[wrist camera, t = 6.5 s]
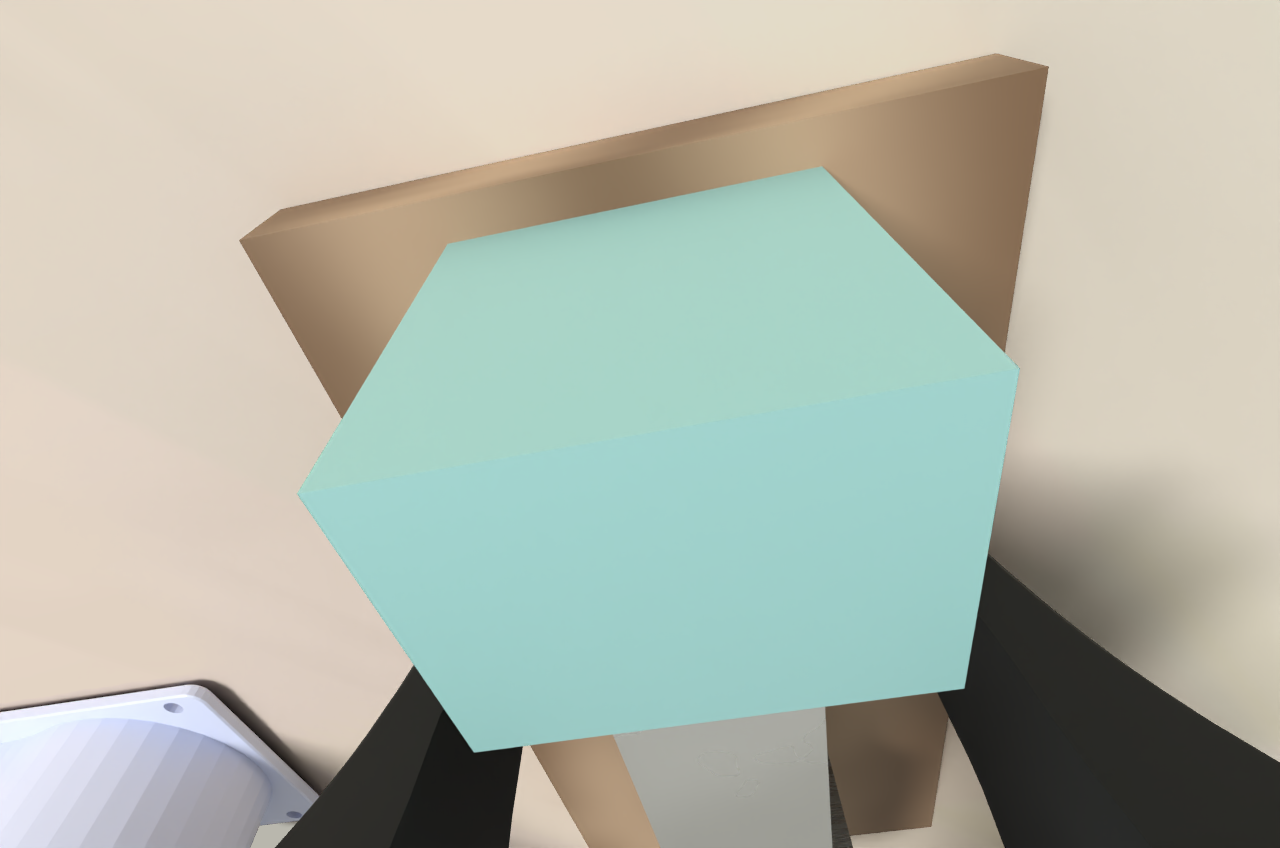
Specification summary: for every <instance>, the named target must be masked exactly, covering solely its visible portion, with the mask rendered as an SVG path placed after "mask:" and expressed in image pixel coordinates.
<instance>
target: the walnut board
mask: <svg viewBox="0 0 1280 848" xmlns="http://www.w3.org/2000/svg"><path fill="white" fill-rule="evenodd" d="M1048 68H1049V67H1048V66H1044V65H1040V64H1036V63H1032V62H1028V61H1024V60H1020V59H1016V58H1012V57H1008V56H1004V55H1000V54H993V55H988V56H983V57H979V58H974V59H970V60H965V61H960V62H956V63H951V64H947V65H942V66H938V67H933V68H928V69H924V70H919V71H915V72H910V73H905V74H901V75H896V76H892V77H887V78H882V79H878V80H873V81H869V82H864V83H859V84H855V85H850V86H846V87H841V88H837V89H832V90H827V91H823V92H818V93H814V94H809V95H804V96H800V97H795V98H791V99H786V100H781V101H777V102H772V103H768V104H763V105H759V106H754V107H749V108H745V109H740V110H736V111H731V112H726V113H722V114H717V115H713V116H708V117H703V118H699V119H694V120H690V121H685V122H680V123H676V124H671V125H667V126H662V127H658V128H653V129H648V130H644V131H639V132H635V133H630V134H625V135H621V136H616V137H612V138H607V139H602V140H598V141H593V142H589V143H584V144H579V145H575V146H570V147H566V148H561V149H557V150H552V151H547V152H543V153H538V154H534V155H529V156H524V157H520V158H515V159H511V160H506V161H501V162H497V163H492V164H488V165H483V166H479V167H474V168H469V169H465V170H460V171H456V172H451V173H446V174H442V175H437V176H433V177H428V178H423V179H419V180H414V181H410V182H405V183H400V184H396V185H391V186H387V187H382V188H378V189H373V190H368V191H364V192H359V193H355V194H350V195H345V196H341V197H336V198H332V199H327V200H322V201H318V202H313V203H309V204H304V205H300V206H295V207H290V208H286V209H281V210H279V211H278V212H277V213H275V214H274V215H273V216H271V217H270V218H269V219H267V220H266V221H265V222H263V223H262V224H261V225H259V226H258V227H256V228H255V229H254V230H252V231H251V232H250V233H248V234H247V235H246V236H244V237H243V238H242V239H240V240H239V241H240V243H241V244H242V246H243V248H244V250H245V251H246V253H247V255H248V256H249V258H250V260H251V262H252V263H253V265H254V267H255V269H256V270H257V272H258V274H259V276H260V277H261V279H262V281H263V283H264V284H265V286H266V288H267V289H268V291H269V293H270V295H271V296H272V298H273V300H274V302H275V303H276V305H277V307H278V309H279V310H280V312H281V314H282V316H283V317H284V319H285V321H286V322H287V324H288V326H289V328H290V329H291V331H292V333H293V335H294V336H295V338H296V340H297V342H298V343H299V345H300V347H301V348H302V350H303V352H304V354H305V355H306V357H307V359H308V361H309V362H310V364H311V366H312V368H313V369H314V371H315V373H316V375H317V376H318V378H319V380H320V381H321V383H322V385H323V387H324V388H325V390H326V392H327V394H328V395H329V397H330V399H331V401H332V402H333V404H334V406H335V408H336V409H337V411H338V413H339V414H340V416H341V418H343V417H344V415H345V413H346V412H347V410H348V409H349V407H350V405H351V404H352V402H353V400H354V399H355V397H356V395H357V394H358V392H359V390H360V389H361V387H362V385H363V384H364V382H365V380H366V379H367V377H368V375H369V374H370V372H371V370H372V369H373V367H374V365H375V364H376V362H377V360H378V359H379V357H380V355H381V354H382V352H383V350H384V349H385V347H386V345H387V344H388V342H389V340H390V339H391V337H392V335H393V334H394V332H395V330H396V329H397V327H398V325H399V324H400V322H401V320H402V319H403V317H404V315H405V314H406V312H407V311H408V309H409V307H410V306H411V304H412V302H413V301H414V299H415V297H416V296H417V294H418V292H419V291H420V289H421V287H422V286H423V284H424V282H425V281H426V279H427V277H428V276H429V274H430V272H431V271H432V269H433V267H434V266H435V264H436V262H437V261H438V259H439V257H440V256H441V254H442V252H443V251H444V249H445V247H446V246H447V244H450V243H454V242H459V241H464V240H469V239H474V238H478V237H483V236H488V235H493V234H498V233H503V232H507V231H512V230H517V229H522V228H527V227H532V226H536V225H541V224H546V223H551V222H556V221H560V220H565V219H570V218H575V217H580V216H585V215H589V214H594V213H599V212H604V211H609V210H614V209H618V208H623V207H628V206H633V205H638V204H643V203H647V202H652V201H657V200H662V199H667V198H671V197H676V196H681V195H686V194H691V193H696V192H700V191H705V190H710V189H715V188H720V187H725V186H729V185H734V184H739V183H744V182H749V181H753V180H758V179H763V178H768V177H773V176H778V175H782V174H787V173H792V172H797V171H802V170H807V169H811V168H816V167H821V166H822V167H823V168H824V169H825V170H826V171H827V172H828V173H829V174H830V175H831V176H832V177H833V178H834V179H835V180H836V181H837V182H838V183H839V184H840V185H841V186H842V187H843V188H844V189H845V190H846V191H847V192H848V193H849V194H850V195H851V196H852V197H853V198H854V199H855V200H856V201H857V202H858V203H859V204H860V205H861V206H862V207H863V208H864V210H865V211H866V212H867V213H868V214H869V215H870V216H871V217H872V218H873V219H874V220H875V221H876V222H877V223H878V224H879V225H880V226H881V227H882V228H883V229H884V230H885V231H886V232H887V233H888V234H889V235H890V236H891V237H892V238H893V239H894V240H895V241H896V242H897V243H898V244H899V245H900V246H901V247H902V248H903V249H904V250H905V251H906V253H907V254H908V255H909V256H910V257H911V258H912V259H913V260H914V261H915V262H916V263H917V264H918V265H919V266H920V267H921V268H922V269H923V270H924V271H925V272H926V273H927V274H928V275H929V276H930V277H931V278H932V279H933V280H934V281H935V282H936V283H937V284H938V285H939V286H940V287H941V288H942V289H943V290H944V291H945V292H946V293H947V294H948V295H949V297H950V298H951V299H952V300H953V301H954V302H955V303H956V304H957V305H958V306H959V307H960V308H961V309H962V310H963V311H964V312H965V313H966V314H967V315H968V316H969V317H970V318H971V319H972V320H973V321H974V322H975V323H976V324H977V325H978V326H979V327H980V328H981V329H982V330H983V331H984V332H985V333H986V334H987V335H988V336H989V337H990V338H991V340H992V341H993V342H994V343H995V344H996V345H997V346H998V347H999V348H1000V349H1001V350H1002V351H1003V352H1004V353H1005V346H1006V340H1007V333H1008V327H1009V320H1010V314H1011V307H1012V301H1013V294H1014V288H1015V281H1016V275H1017V269H1018V262H1019V256H1020V249H1021V243H1022V236H1023V230H1024V223H1025V217H1026V210H1027V204H1028V197H1029V191H1030V184H1031V178H1032V171H1033V165H1034V158H1035V152H1036V145H1037V139H1038V133H1039V126H1040V120H1041V113H1042V107H1043V100H1044V94H1045V87H1046V81H1047V74H1048ZM825 716H826V735H827V751H828V755H829V759H830V762H831V766H832V770H833V774H834V778H835V782H836V785H837V789H838V793H839V797H840V801H841V804H842V808H843V812H844V816H845V820H846V823H847V827H848V831H849V835H850V836H852V835H861V834H870V833H879V832H888V831H897V830H906V829H915V828H924V827H931V826H932V819H933V813H934V806H935V800H936V793H937V787H938V780H939V774H940V767H941V761H942V754H943V748H944V741H945V735H946V728H947V722H948V714H947V712H946V710H945V708H944V706H943V704H942V702H941V700H940V698H939V695H938V693H937V692H934V693H927V694H919V695H911V696H904V697H896V698H888V699H881V700H873V701H865V702H858V703H850V704H842V705H835V706H827V707H825ZM530 746H531V748H532V750H533V751H534V753H535V755H536V756H537V758H538V760H539V762H540V763H541V765H542V767H543V769H544V770H545V772H546V774H547V776H548V777H549V779H550V781H551V782H552V784H553V786H554V788H555V789H556V791H557V793H558V795H559V796H560V798H561V800H562V802H563V803H564V805H565V807H566V809H567V810H568V812H569V814H570V815H571V817H572V819H573V821H574V822H575V824H576V826H577V828H578V829H579V831H580V833H581V835H582V836H583V838H584V840H585V842H586V843H587V845H588V847H589V848H660V845H659V843H658V841H657V838H656V836H655V833H654V831H653V829H652V826H651V824H650V822H649V819H648V817H647V815H646V812H645V810H644V807H643V805H642V803H641V800H640V798H639V796H638V793H637V791H636V788H635V786H634V784H633V781H632V779H631V777H630V774H629V772H628V770H627V767H626V765H625V762H624V760H623V758H622V755H621V753H620V751H619V748H618V746H617V743H616V741H615V739H614V736H613V734H612V735H605V736H597V737H589V738H582V739H574V740H566V741H559V742H551V743H543V744H536V745H530Z"/></svg>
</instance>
